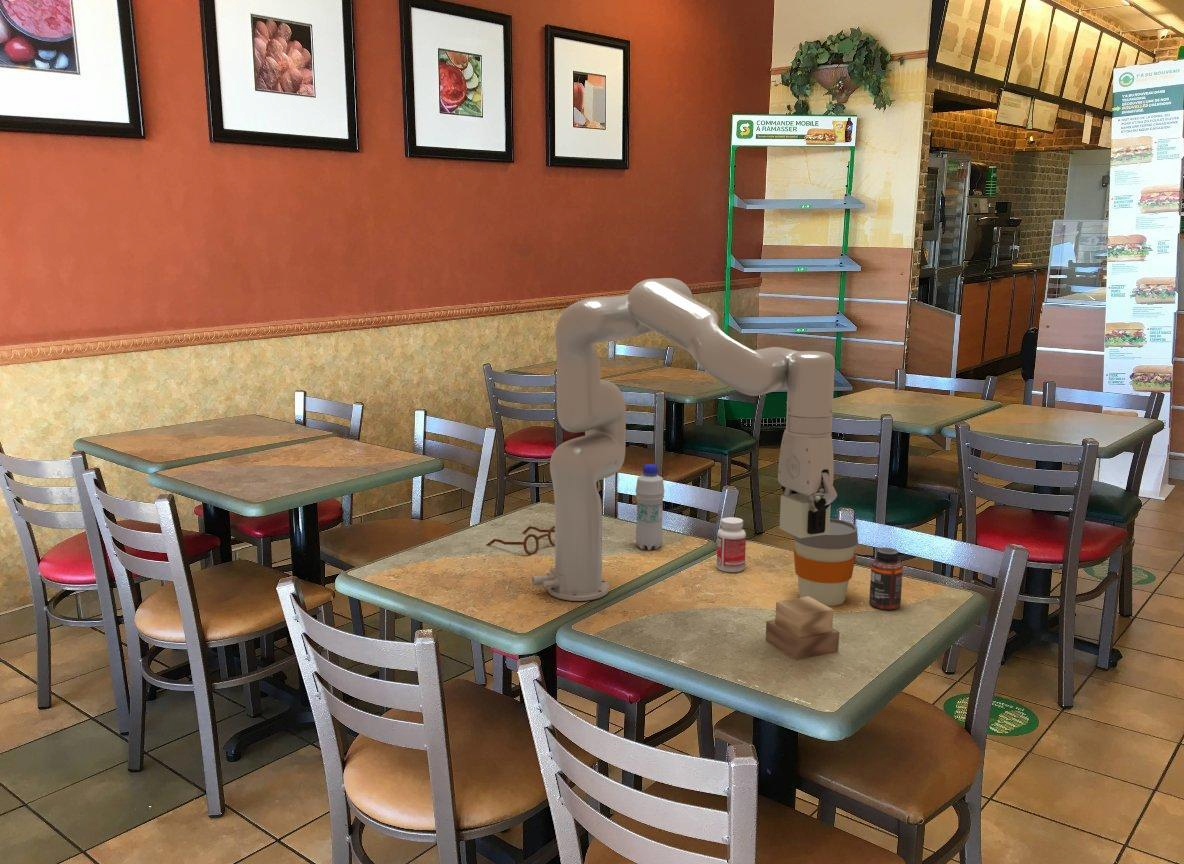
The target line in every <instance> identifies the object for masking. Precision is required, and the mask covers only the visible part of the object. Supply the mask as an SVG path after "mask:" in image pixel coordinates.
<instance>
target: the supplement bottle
mask: <svg viewBox="0 0 1184 864" xmlns="http://www.w3.org/2000/svg"><path fill="white" fill-rule="evenodd" d="M898 558H899V550H898V549H896V548H892V547H879V548H877V550H876V558H874V559H873V560H872V561H871V564H870V582H869V583H870V584H869V597H868V598H869V599H868V600H869V604H870V605H871V606H872V607H874V608H877V609H880V610H887V611H888V610H895V609H899V608H900V606H901V602H902V589H903V588H902V587H903V586H902V585H903V570H904V569H903V568H904V565H903V563H902V561H900V560H899V559H898Z"/></svg>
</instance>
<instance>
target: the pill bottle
mask: <svg viewBox="0 0 1184 864" xmlns="http://www.w3.org/2000/svg"><path fill="white" fill-rule="evenodd" d="M720 526H721V528H719V529H718V531H717V533H716V535H717V537H716V568H717V569H718V570H719V571H722V572H724V573H730V572H731V573H739V572H742V571H744V570H745V567H746V549H747V547H746V544H747V542H746V541H747V539H746V538H747V533H746V531H745V530H744V529H743V526H744V520H743V519H742V518H739V517H731V516H729V517H723V518H721V520H720Z"/></svg>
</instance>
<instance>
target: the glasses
mask: <svg viewBox="0 0 1184 864" xmlns="http://www.w3.org/2000/svg"><path fill="white" fill-rule="evenodd" d="M530 530H535V531H537V532H539V533H543V534H541V535H539V536H537V535H535V534H534V533H533V534H527V535H526V533H528V532H529V531H530ZM552 533H555V525H552V526H551V527H550V528H549V529H540V528H539V527H536V526H531V525H530V526H528V527H526V529H524V531H522V532H521V534H523V535H526V536H525V538H524V539H523V541H504V540H503V539H498V538H493V539H492V540H490V542H488V543H487V544H485V546H487V547H489V546H492V545H493V544H495V543H496V542H497V543H501V544H503V545H505V546H506V545H508V546H509V545H510V546H514V545H515V546H523V549H524V550H523V551H524V553H525V554H526V555H528V556H532V555H536V554H537V553H538V551H539V547H540V545H539V544H540V543H539V542H540V541H539V540H541V539H543V538H545V537H547V538H548V542H549V544H550V545H551V546H552V547H555V542H553V541H552V537H551V536H552V535H551V534H552ZM530 538H533V539H534V540H535V549H534V550H533V551H532V552H530V551H529V549H528V547H527V542H528V540H529V539H530Z"/></svg>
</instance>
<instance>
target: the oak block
mask: <svg viewBox="0 0 1184 864" xmlns="http://www.w3.org/2000/svg"><path fill="white" fill-rule="evenodd" d="M774 620H775V623H776V624H778V625H779V626H781V627H782V628H784V629H786V630H787V631H789V632H791V633H792V634H794V635H795V636H797V637H799V638H800V637H805V636H810V635H816V634H821V633H826V632H831V631H832V628H833V621H834V609H833V608H832V607H831V606H826V605H824V604H822V603H820V602H818V601H817V600H815V599H813V598H811V597H809V596H807V597H801V598H800V597H795V598H791V599H784V600H779V601H776V602H775V618H774Z"/></svg>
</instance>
